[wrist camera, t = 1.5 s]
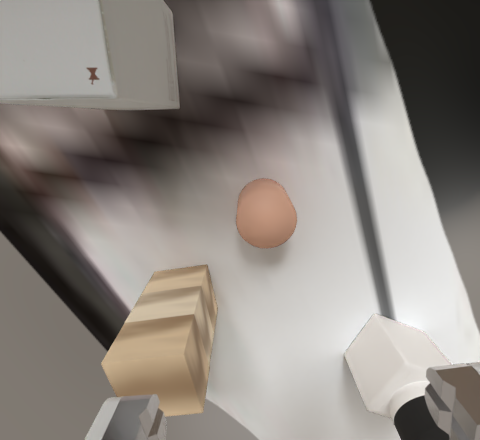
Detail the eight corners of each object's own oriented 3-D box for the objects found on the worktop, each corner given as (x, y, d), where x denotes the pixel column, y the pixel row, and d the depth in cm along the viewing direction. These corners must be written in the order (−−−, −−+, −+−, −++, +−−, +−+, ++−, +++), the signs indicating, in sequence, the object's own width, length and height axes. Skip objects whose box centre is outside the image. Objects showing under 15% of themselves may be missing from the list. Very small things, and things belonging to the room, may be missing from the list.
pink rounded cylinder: (234, 182, 26) (231, 197, 22) (285, 174, 26) (293, 187, 21) (242, 229, 28) (241, 251, 23) (290, 222, 28) (299, 243, 23)
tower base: (154, 271, 30) (141, 293, 26) (207, 264, 30) (201, 285, 26) (168, 314, 32) (158, 340, 28) (217, 308, 32) (214, 334, 28)
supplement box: (174, 10, 21) (86, -122, 10) (181, 110, 24) (118, 104, 12) (82, 10, 22) (-116, -120, 10) (99, 110, 24) (-41, 103, 12)
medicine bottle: (342, 353, 34) (389, 471, 23) (373, 311, 31) (444, 419, 20) (391, 370, 35) (460, 492, 23) (425, 330, 32) (520, 445, 21)
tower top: (124, 322, 23) (100, 363, 19) (194, 314, 22) (183, 354, 18) (145, 374, 25) (128, 420, 21) (209, 367, 24) (203, 412, 20)
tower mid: (141, 293, 26) (124, 322, 23) (201, 285, 26) (193, 314, 22) (158, 340, 28) (145, 374, 25) (214, 333, 28) (209, 367, 24)
